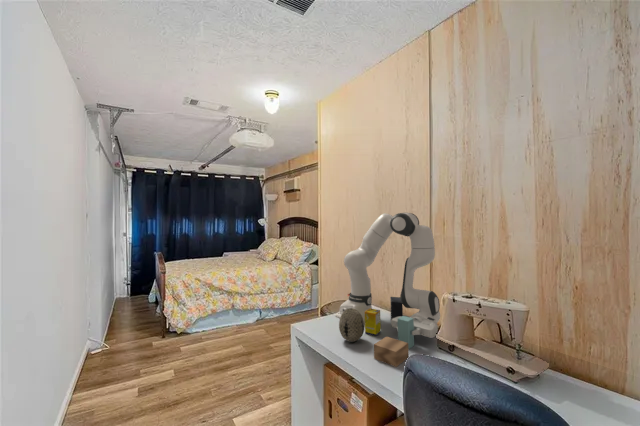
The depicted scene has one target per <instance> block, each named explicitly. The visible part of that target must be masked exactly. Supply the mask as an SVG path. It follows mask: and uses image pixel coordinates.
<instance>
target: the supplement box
mask: <svg viewBox="0 0 640 426" xmlns="http://www.w3.org/2000/svg"><path fill="white" fill-rule="evenodd" d="M381 325H382V324H381V310H380V309H376V308H372V309H371V308H369V309H368V310H366V311H365V323H364V334H365V335H370V336H373V337H377V336H378V335H379V334H380V333H381V331H382V329H381V327H382V326H381Z"/></svg>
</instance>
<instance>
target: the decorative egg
mask: <svg viewBox="0 0 640 426" xmlns="http://www.w3.org/2000/svg"><path fill="white" fill-rule="evenodd" d="M338 329H339V332H340V333H339V334H340V336H341V337H342V338H343V339H344V340H346V341H348V342H351V343H353V342H357V341H359V340H361V338H362V337H363V335H364V334H365V323H364V321H363V318H362V315H361V314H360V313H359V311H357V310H356V309H354V308H349V309H346V310H345V311H344V312H343V313H342V315H341V317H340V318H339V321H338Z"/></svg>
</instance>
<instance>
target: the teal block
mask: <svg viewBox="0 0 640 426" xmlns="http://www.w3.org/2000/svg"><path fill="white" fill-rule="evenodd" d="M410 317H411V316H406V315H403V316H402V317H400V318H398V331H397V340H400V341H403V342H406V343H408V350H410V349H412V347H414V346H415V335H414V336H413V335H410V331H411V330H414V321H413V318H410Z"/></svg>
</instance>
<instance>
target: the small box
mask: <svg viewBox="0 0 640 426" xmlns="http://www.w3.org/2000/svg"><path fill="white" fill-rule="evenodd" d="M403 308H404V305H403V304H402V303H401V300H400V296H390V321H391V320H392V319H393V318H395V317H399V316H404V315H403V314H404V313H403V312H404V311H403Z"/></svg>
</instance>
